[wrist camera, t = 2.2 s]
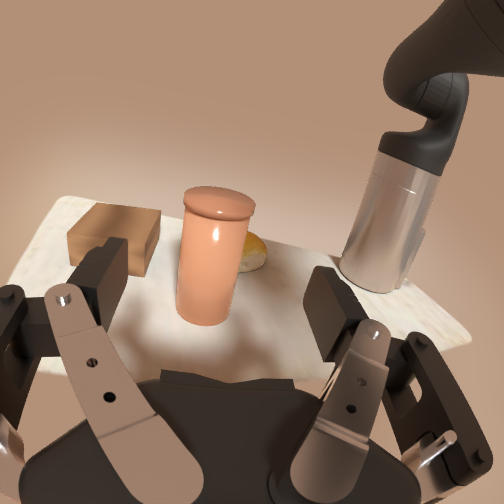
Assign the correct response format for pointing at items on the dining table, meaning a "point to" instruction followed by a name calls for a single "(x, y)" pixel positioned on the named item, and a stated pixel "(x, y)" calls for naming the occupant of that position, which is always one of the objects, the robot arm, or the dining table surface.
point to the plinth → (117, 233)
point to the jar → (211, 252)
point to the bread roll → (252, 253)
